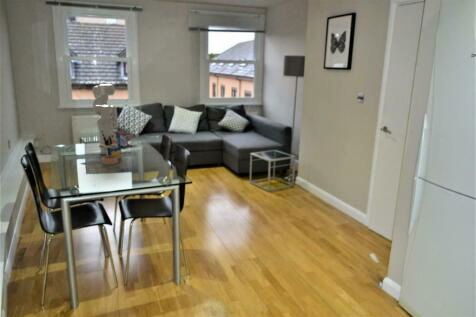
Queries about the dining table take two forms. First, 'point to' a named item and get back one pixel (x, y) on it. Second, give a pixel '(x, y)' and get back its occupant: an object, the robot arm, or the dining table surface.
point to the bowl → (109, 159)
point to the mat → (91, 163)
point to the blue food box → (117, 149)
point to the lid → (108, 144)
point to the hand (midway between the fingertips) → (108, 144)
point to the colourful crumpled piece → (124, 138)
